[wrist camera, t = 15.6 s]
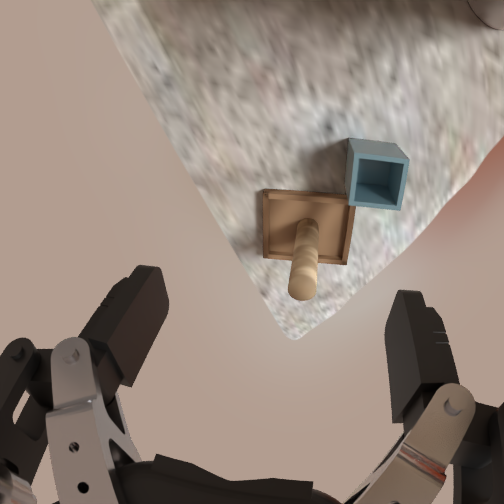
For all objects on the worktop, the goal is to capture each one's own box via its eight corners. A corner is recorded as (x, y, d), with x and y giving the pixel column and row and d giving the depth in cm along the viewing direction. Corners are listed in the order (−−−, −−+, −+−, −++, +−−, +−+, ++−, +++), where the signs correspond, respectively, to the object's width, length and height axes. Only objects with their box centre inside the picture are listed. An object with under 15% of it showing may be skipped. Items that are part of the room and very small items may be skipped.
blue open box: (395, 143, 38) (409, 159, 32) (389, 188, 41) (400, 210, 36) (348, 137, 39) (354, 152, 33) (344, 183, 42) (348, 205, 37)
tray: (355, 195, 43) (356, 200, 42) (345, 259, 49) (346, 265, 48) (264, 188, 45) (262, 193, 44) (264, 252, 51) (263, 258, 50)
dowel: (319, 218, 45) (317, 280, 34) (317, 237, 47) (314, 301, 36) (297, 217, 46) (288, 277, 35) (296, 235, 48) (287, 299, 37)
